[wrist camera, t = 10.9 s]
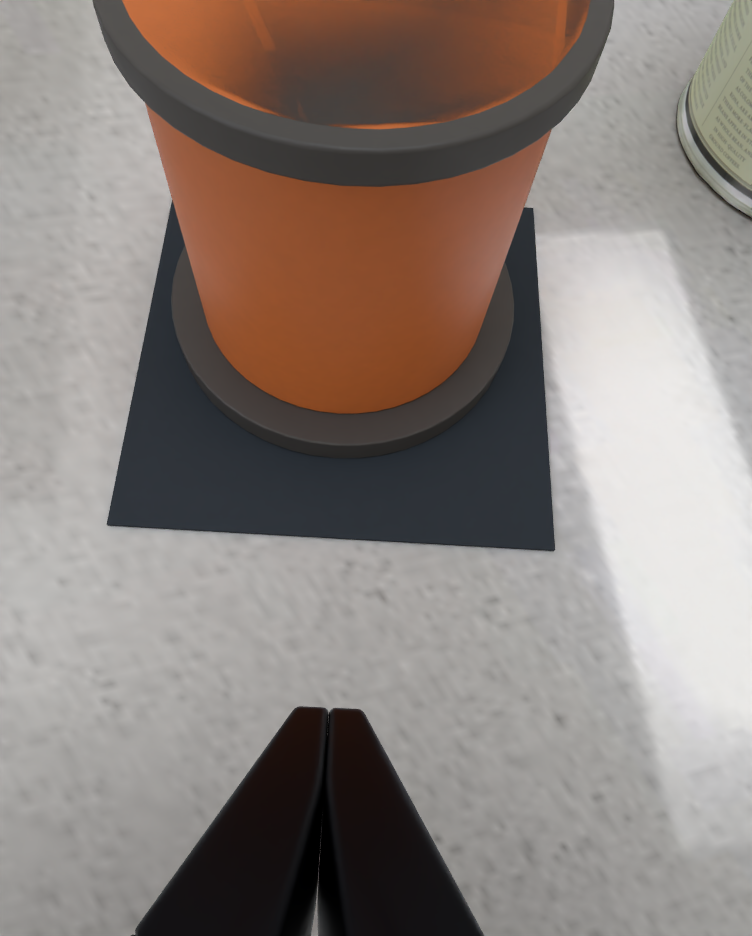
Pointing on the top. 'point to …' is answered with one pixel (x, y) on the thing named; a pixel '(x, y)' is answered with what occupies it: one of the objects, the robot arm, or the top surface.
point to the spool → (350, 196)
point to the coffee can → (722, 110)
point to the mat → (341, 479)
